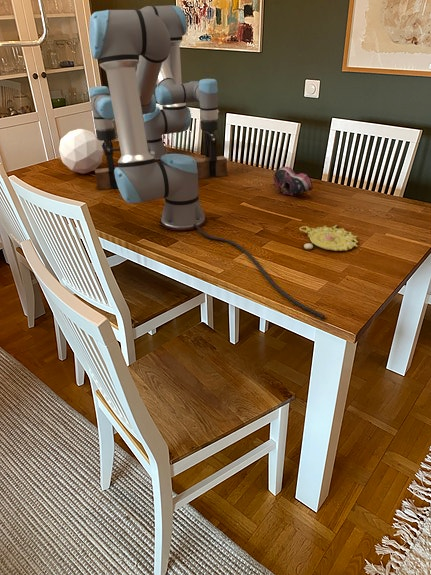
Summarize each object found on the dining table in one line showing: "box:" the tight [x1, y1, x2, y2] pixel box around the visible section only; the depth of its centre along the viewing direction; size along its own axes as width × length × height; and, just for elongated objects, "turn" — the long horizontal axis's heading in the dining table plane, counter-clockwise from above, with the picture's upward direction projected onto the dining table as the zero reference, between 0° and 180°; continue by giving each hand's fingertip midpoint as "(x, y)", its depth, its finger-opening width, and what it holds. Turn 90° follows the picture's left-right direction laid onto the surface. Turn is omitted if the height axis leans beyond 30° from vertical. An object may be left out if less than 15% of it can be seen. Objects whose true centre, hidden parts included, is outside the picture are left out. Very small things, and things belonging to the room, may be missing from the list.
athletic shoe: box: [270, 166, 314, 197], centre depth 175 cm, size 11×22×12 cm
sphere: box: [58, 128, 104, 175], centre depth 202 cm, size 19×20×20 cm
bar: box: [94, 155, 228, 191], centre depth 192 cm, size 56×5×7 cm, turn 105°
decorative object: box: [299, 224, 359, 252], centre depth 141 cm, size 21×2×20 cm
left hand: (211, 174), depth 198 cm, fingers closed on bar, 5 cm apart
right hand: (113, 184), depth 189 cm, fingers closed on bar, 5 cm apart
